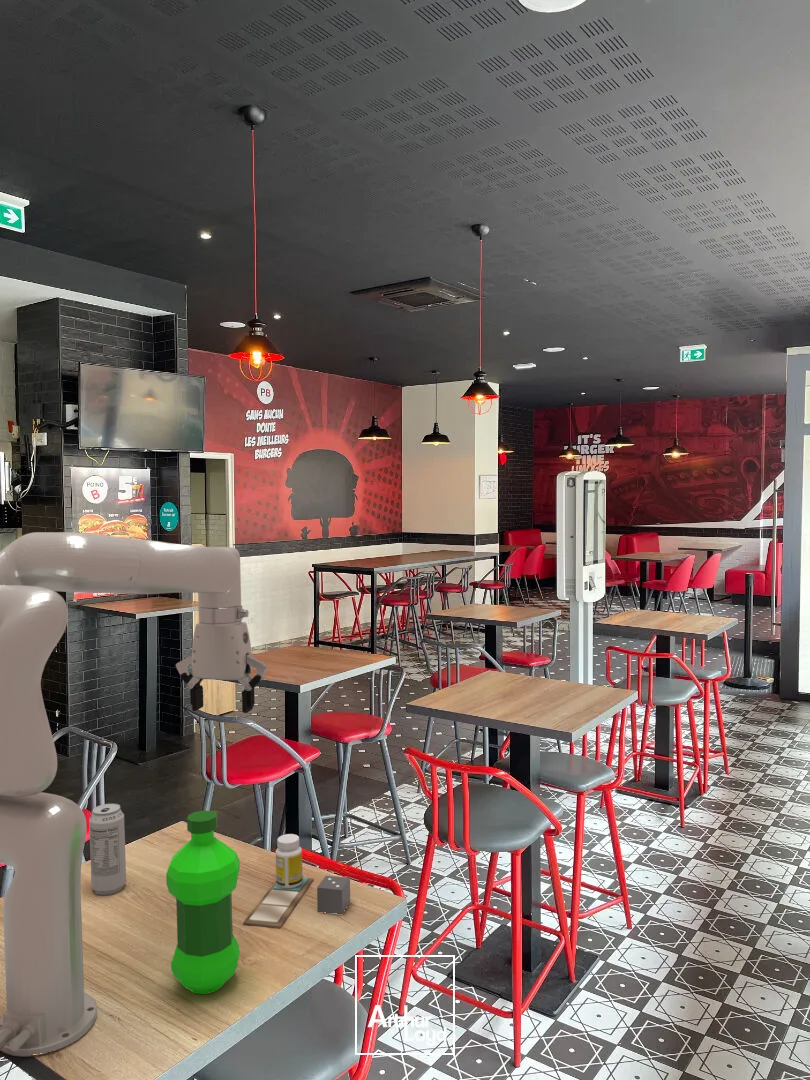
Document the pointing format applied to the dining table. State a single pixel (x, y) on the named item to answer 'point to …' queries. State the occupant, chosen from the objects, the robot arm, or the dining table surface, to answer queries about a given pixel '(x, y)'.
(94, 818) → the energy drink can
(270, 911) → the board
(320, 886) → the die
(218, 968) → the plastic bottle
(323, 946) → the dining table surface
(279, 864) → the supplement bottle
